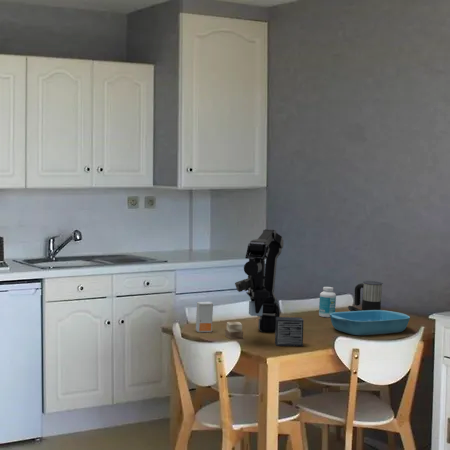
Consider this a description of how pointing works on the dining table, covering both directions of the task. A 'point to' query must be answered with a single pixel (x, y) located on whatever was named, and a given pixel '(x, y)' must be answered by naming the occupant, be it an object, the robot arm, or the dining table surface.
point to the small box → (289, 331)
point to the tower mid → (234, 326)
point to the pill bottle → (327, 302)
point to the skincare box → (204, 317)
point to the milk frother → (368, 296)
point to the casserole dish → (369, 322)
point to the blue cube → (252, 309)
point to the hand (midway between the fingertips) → (255, 312)
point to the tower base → (234, 335)
